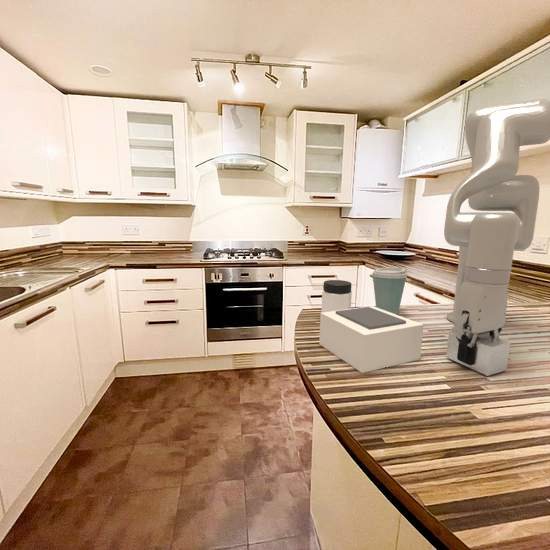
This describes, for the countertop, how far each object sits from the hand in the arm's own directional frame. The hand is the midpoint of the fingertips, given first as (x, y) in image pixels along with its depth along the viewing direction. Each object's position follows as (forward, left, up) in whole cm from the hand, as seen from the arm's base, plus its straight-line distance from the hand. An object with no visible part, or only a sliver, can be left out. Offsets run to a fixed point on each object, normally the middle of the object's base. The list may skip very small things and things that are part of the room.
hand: (475, 358), depth 66 cm
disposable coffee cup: (-10, -36, -2) cm, 37 cm away
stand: (+16, -15, -1) cm, 22 cm away
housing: (0, 0, -1) cm, 1 cm away
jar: (+10, -36, -2) cm, 37 cm away
